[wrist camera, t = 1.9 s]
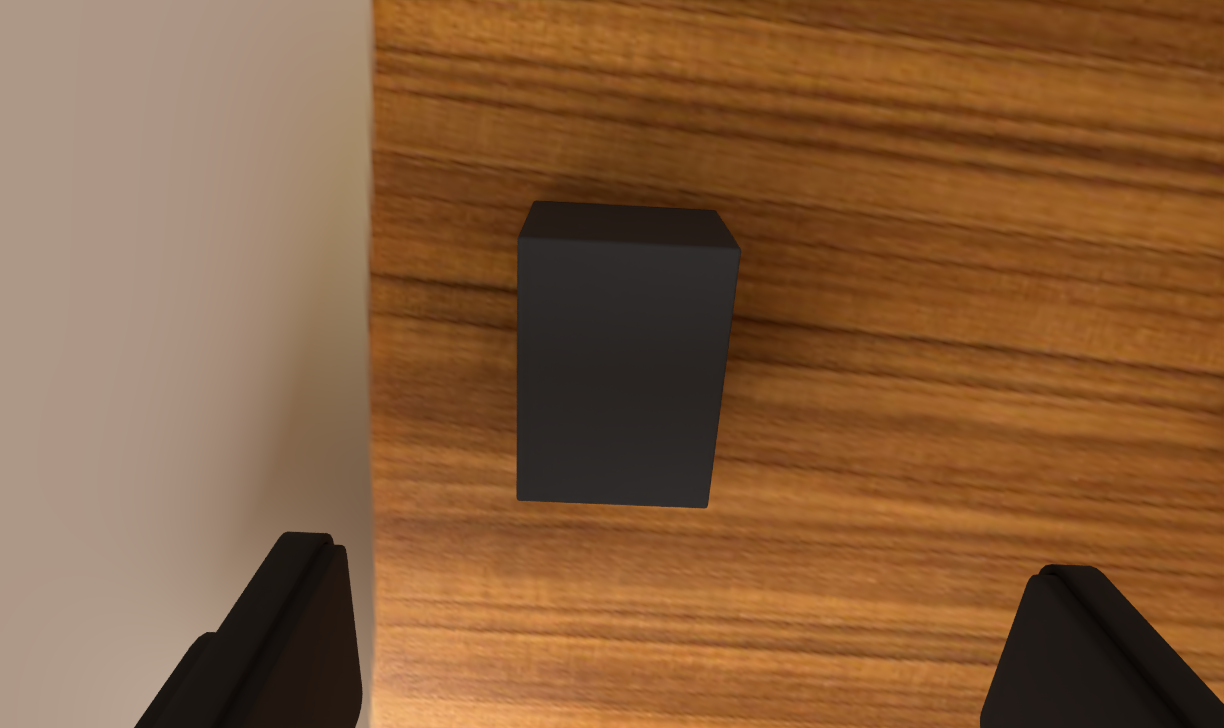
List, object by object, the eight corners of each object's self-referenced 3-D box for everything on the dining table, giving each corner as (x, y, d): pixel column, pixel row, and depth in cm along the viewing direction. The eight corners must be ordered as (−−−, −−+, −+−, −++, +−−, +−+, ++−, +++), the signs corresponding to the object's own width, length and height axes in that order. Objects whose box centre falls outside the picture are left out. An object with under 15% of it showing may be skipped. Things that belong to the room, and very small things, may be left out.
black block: (530, 427, 23) (516, 502, 19) (533, 200, 20) (517, 236, 16) (691, 434, 23) (707, 509, 19) (716, 210, 20) (742, 248, 16)
